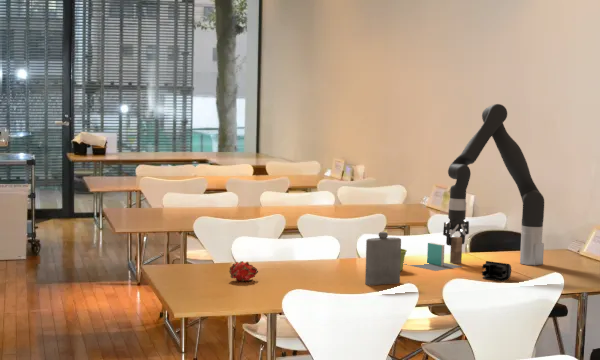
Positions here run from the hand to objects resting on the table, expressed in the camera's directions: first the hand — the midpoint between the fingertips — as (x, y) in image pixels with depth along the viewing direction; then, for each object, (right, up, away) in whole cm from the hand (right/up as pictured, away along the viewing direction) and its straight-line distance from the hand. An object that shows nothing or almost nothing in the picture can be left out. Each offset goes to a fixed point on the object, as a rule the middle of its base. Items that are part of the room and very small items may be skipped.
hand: (455, 244), depth 372 cm
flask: (-37, -12, -46) cm, 60 cm away
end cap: (+11, -12, -32) cm, 36 cm away
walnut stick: (0, -9, 0) cm, 9 cm away
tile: (-10, -8, -4) cm, 13 cm away
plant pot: (-29, -10, -18) cm, 35 cm away
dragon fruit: (-92, -11, -47) cm, 103 cm away
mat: (-12, -9, -5) cm, 16 cm away
